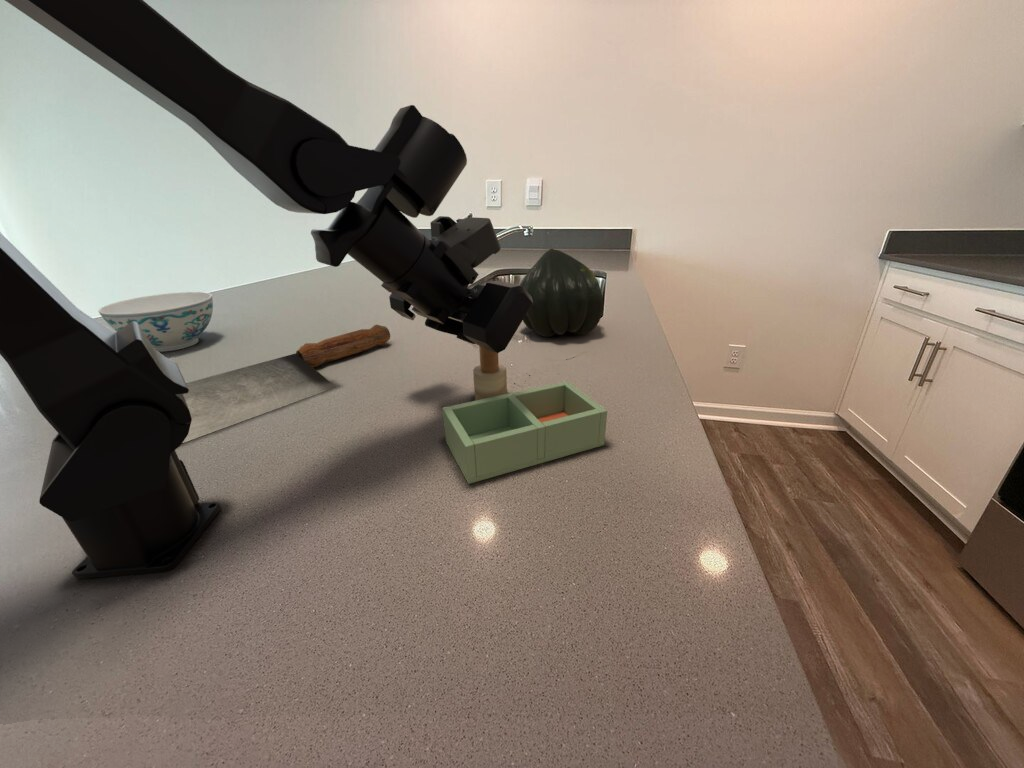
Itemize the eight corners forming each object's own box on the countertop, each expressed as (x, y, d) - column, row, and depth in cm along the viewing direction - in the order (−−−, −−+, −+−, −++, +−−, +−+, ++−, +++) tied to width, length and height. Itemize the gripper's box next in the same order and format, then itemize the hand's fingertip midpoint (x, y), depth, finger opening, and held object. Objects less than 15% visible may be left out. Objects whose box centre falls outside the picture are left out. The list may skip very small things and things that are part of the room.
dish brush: (508, 405, 49) (505, 294, 43) (475, 407, 49) (467, 296, 43) (505, 390, 53) (502, 286, 47) (474, 392, 52) (467, 288, 47)
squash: (607, 318, 62) (604, 234, 67) (510, 320, 64) (513, 239, 68) (600, 351, 76) (597, 279, 80) (520, 352, 78) (522, 282, 82)
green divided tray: (468, 484, 36) (465, 446, 34) (445, 441, 42) (442, 407, 40) (604, 445, 41) (607, 410, 39) (566, 411, 47) (567, 380, 46)
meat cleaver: (164, 450, 42) (149, 416, 40) (138, 416, 48) (124, 386, 47) (422, 357, 65) (419, 333, 63) (381, 342, 72) (377, 320, 70)
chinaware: (148, 366, 63) (126, 318, 59) (101, 352, 69) (80, 308, 65) (243, 337, 75) (230, 296, 71) (196, 328, 81) (182, 289, 78)
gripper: (516, 184, 32) (593, 299, 43) (399, 189, 44) (483, 277, 56) (440, 302, 30) (541, 389, 42) (342, 272, 43) (440, 345, 54)
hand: (497, 342), depth 48 cm, fingers closed on dish brush, 2 cm apart
